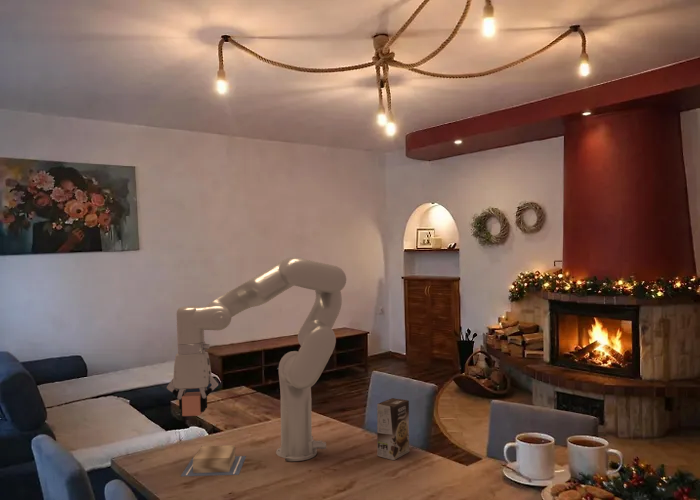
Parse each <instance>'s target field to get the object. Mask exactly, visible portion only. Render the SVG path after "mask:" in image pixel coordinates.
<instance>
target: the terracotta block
mask: <svg viewBox="0 0 700 500" xmlns="http://www.w3.org/2000/svg"><path fill="white" fill-rule="evenodd" d="M201 396H202V395H201V392H200V391H193V392H192V391H191V392H190V391H189V392H188V391H187V392H186V391H185V394H184V395H183V396H182V413H181V414H182V415H181V416H182V417H193V416H195V417H196V416H197V417H198V416H201V415H202V413H203V412H201V401H200V399H201Z"/></svg>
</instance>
